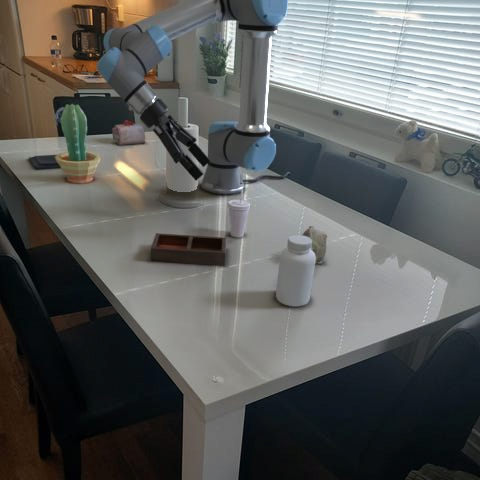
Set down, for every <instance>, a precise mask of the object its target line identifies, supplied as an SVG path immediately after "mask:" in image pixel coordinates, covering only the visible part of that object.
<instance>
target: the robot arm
mask: <svg viewBox="0 0 480 480" xmlns="http://www.w3.org/2000/svg"><path fill="white" fill-rule="evenodd" d="M288 8H289V0H185V1H182V2H180V3H178V4H175V5H172V6H171V7H168V8H166V9H164V10H162V11H160V12H157V13H155V14H152V15H150V16H148V17H145V18H143V19H141V20H138V21H137V22H134V23H133V24H130V25H127V26H124V27H122V28H121V27H120V28H119V27H116V28H111V29H110V28H109V30H107V32H106V33H105V34H104V36H103V47H104V50H105V53H104V54H103V55H102V56H101V58H100V59H99V60H98V61H97V63H96V70H97V72H98V73H99V74H100V76H101V77H102V79H104V81H105V82H106V83H107V84H108V85H109V86H110V87H111V89H113V90H114V92H116V94H117V95H118V96H119V97H120V99H122V101H123V102H124V103H126V105H127V106H128V110H129V111H132V112H133V113H134V114H135V115H136V116H139V120H140V121H141V122H142V123H143V125H145V127H146V128H147V129H151V128H152V127H153V126H154V128H153V129H152V130H153V133H154V134H155V135H156V136H157V137H158V139H159V140H160V141H161V143H162V145H163V146H164V148H165V149H166V151H167V153H168V154H169V156H170V157H171V158H172V160H173V162H174V164H180V165H181V166H182V167H183V168H184V169H185V170H186V171H187V172H188V174H189V175H190V176H191V177H192V178H193V180H194V181H198V180H199V179H200V178H201V177H202V176H203V178H202V180H201V188H202V189H203V190H204V191H205V192H208V193H211V194H215V195H216V194H217V195H236V194H239V193H240V194H241V188H243V189H244V183H255V182H258V181H259V180H260V179H264V178H265V179H266V178H267V179H268V178H269V179H279V180H280V179H284V178H286V177H287V176H292V174H291V173H290V171H286V172H285V174H284V175H269V174H263V175H262V174H261V175H259V176H258V177H256V178H253V179H252V178H251V179H249V178H247V179H243V176H242V172H241V168H243V169H245V170H246V171H249V172H253V173H260V172H263V171H265V170H266V169H267V168H269V166H270V165H271V164H272V163H273V161H274V159H275V156H276V154H277V144H276V142H275V140H274V139H273V138H272V137H271V127H270V126H269V125H268V123H267V115H268V113H267V112H268V100H269V99H268V97H269V87H270V71H271V70H270V69H271V56H272V42H273V37H274V36H275V35H276V34H277V33H278V30H279V29H278V27H279V24H281V23H282V22H283V21H284V19H285V18H284V17H286V16H287V13H288ZM229 21H233V22H234V21H235V22H237V23H238V24H237V30H238V31H239V33H240V34H241V36H242V52H241V72H240V73H241V75H240V76H241V77H240V78H241V79H240V100H239V120H238V121H235V120H234V121H231V120H230V121H227V120H226V121H224V120H223V121H214V122H212V123H210V124H209V126H208V133H207V155H206V153H205V152H204V151H203V150H202V149H201V148H200V146H199V145H198V144H197V143H196V142H197V141H198V140H197V138H196V137H194V136H193V135H192V134H191V133H189V132H188V130H187V129H185V128H184V127H183V126H182V125H181V124H179V122H178V121H176V120H175V118H174V117H173V116H172V115H171V114H169V115H168V116H167V115H166V113H167V112H168V111H169V107H168V106H167V104H166V103H165V102H164V101H163V100H162V99H161V98H158V94H157V92H156V91H155V90H154V89H153V88H152V87H151V85H150V84H149V83H148V82H147V81H146V80H145V77H146V76H147V74H149V73H150V72H151V71H152V70H153V69H154V68H155V67H157V66H158V65H159V64H160V63H161V62H162V61H164V60H165V58H166V57H167V56H168V55H169V54H170V53H171V51H172V47H173V45H172V42H171V41H174V40H176V39H178V38H181V37H183V36H185V35H187V34H189V33H191V32H193V31H195V30H198V29H200V28H202V27H204V26H207V25H209V24H212V25H218V24H220V23H223V22H229ZM180 143H181V144H182V145H184V146H185V147H186V148H187V151H189V153H190V154H191V155H192V156H193V158H195V160H196V161H197V162H198V163H199V164H200V165H201V166H202V167H203V168H204V167H206V169H205V172H203V171H202V170H201V169H200V168H199V166H198V165H197V164H196V163H195V162H194V161H193V159H192V158H191V157H190V156H189V155H188V154H186V153H185V152H184V150H183V148H182V146H181V145H180Z"/></svg>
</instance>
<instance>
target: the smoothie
mask: <svg viewBox="0 0 480 480" xmlns="http://www.w3.org/2000/svg"><path fill="white" fill-rule="evenodd" d="M243 196H244V187H243V188H241V192H240V199H231V200H229V201H228V202H227V207H228V213H229V228H230V229H229V230H230V236H231V237H234V238H242V237H244V233H245V229H246V224H247V220H248V214H249V210H250V208H251V203H250V202H249V201H247V200H244V199H243V198H244V197H243Z"/></svg>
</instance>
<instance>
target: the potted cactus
mask: <svg viewBox="0 0 480 480" xmlns="http://www.w3.org/2000/svg"><path fill="white" fill-rule="evenodd" d="M54 119H55V125H56V126H59V123H60V124H61V131H62V133H63V136H64V138H65V142H66V147H67V151H65V152H61V153H58V154H55V155H56V156H55V159H56V161H57V163H58V164H59V165H60V167H61V168H60V169H61V171H62V172H63V173H64V174H65V176H66V180H67V181H68V182H70V183H74V184H85V183H86V184H87V183H91V182H92V181H93V180H94V177H93V175H94V174H95V172H96V171H97V168H98V165H99V163H100V162H101V156H100V155H99V154H98V153H94V152H90V151H87V150H86V149H87V148H86V139H87V134H88V119H87V116H86V114H85V112H84V111H83V109H82V108H81V106H80V105H79V104H74V103H70V104H69V103H68V104H65V106H62V107H59V108H58V109H57V110H56V112H55V114H54Z"/></svg>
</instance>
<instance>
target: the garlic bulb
mask: <svg viewBox="0 0 480 480" xmlns="http://www.w3.org/2000/svg"><path fill="white" fill-rule="evenodd" d="M301 235H303V236H307V237H309V238H310V239H311V240H312V247H311V250H312V251H313V252H314V253H315V256H316V261H315V264H323V260H324V259H325V257H326V254H327V253H326V252H327V238H328V235H327V233H326V232H324V231H323V230H322V229H320V228H317V227H315V226H314V225H313V226H312V225H309V227H308V228H307V229H306V230H305V231H304V232H303V233H302V234H301Z"/></svg>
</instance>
